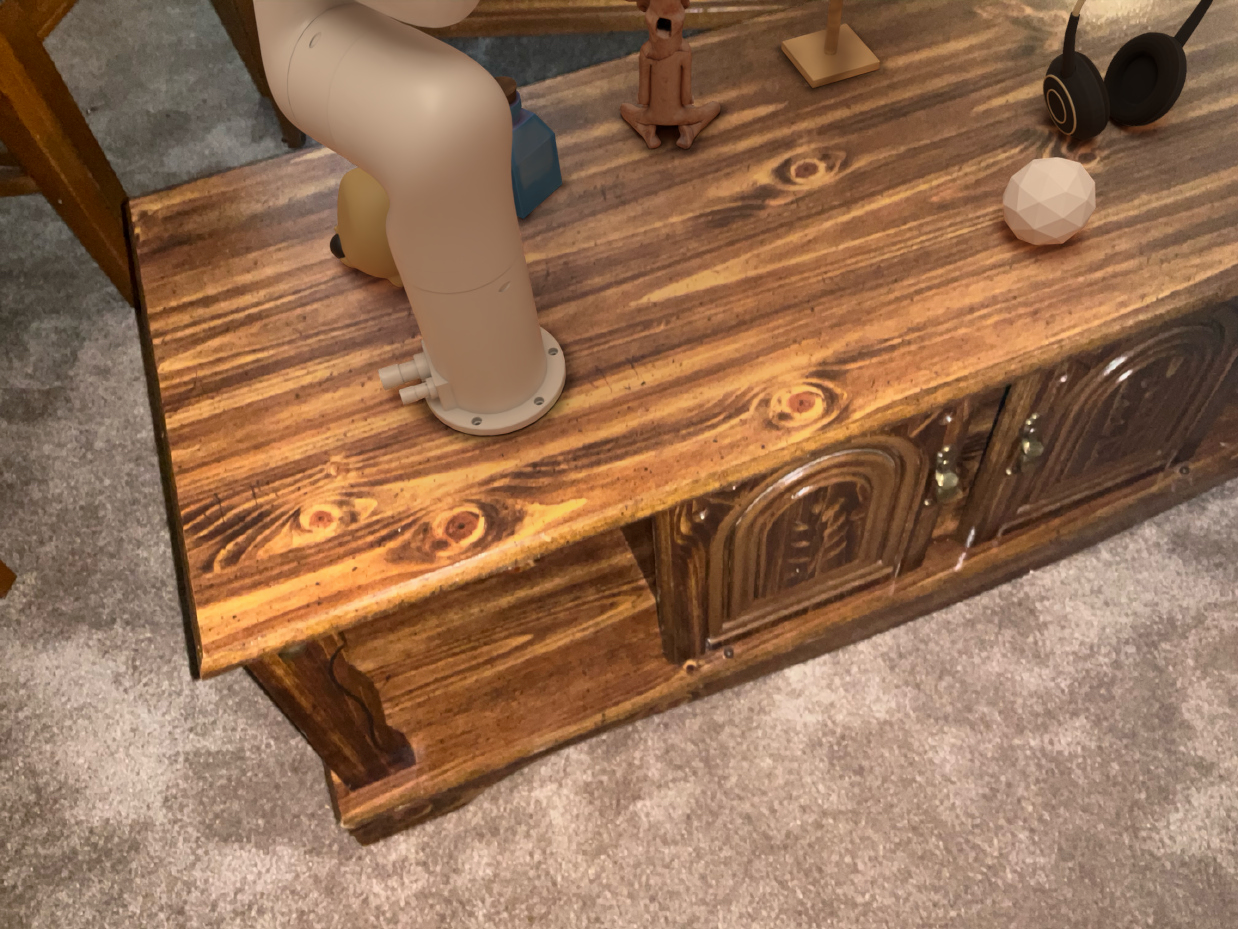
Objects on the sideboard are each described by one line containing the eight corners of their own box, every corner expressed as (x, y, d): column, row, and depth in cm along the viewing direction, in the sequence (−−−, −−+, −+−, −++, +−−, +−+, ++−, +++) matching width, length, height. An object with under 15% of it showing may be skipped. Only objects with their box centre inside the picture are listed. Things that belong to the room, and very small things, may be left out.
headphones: (1007, 115, 99) (1069, -84, 83) (1138, 84, 100) (1224, -119, 84) (1050, 167, 94) (1125, -33, 78) (1186, 133, 96) (1288, -71, 79)
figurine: (721, 109, 103) (725, -82, 86) (704, 159, 99) (705, -32, 82) (627, 98, 105) (613, -90, 89) (606, 147, 101) (587, -42, 84)
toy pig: (434, 257, 99) (359, 175, 96) (480, 215, 88) (398, 122, 86) (369, 317, 94) (288, 233, 91) (409, 280, 84) (320, 184, 81)
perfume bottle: (523, 218, 96) (502, 115, 86) (477, 196, 98) (452, 93, 88) (562, 183, 98) (546, 79, 88) (516, 162, 101) (496, 58, 91)
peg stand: (812, 88, 104) (823, -10, 95) (780, 49, 108) (788, -49, 99) (879, 69, 105) (896, -30, 96) (845, 30, 109) (858, -67, 100)
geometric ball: (1004, 254, 92) (970, 187, 88) (1074, 201, 91) (1042, 131, 88) (1053, 273, 85) (1019, 201, 82) (1128, 216, 85) (1097, 140, 81)
